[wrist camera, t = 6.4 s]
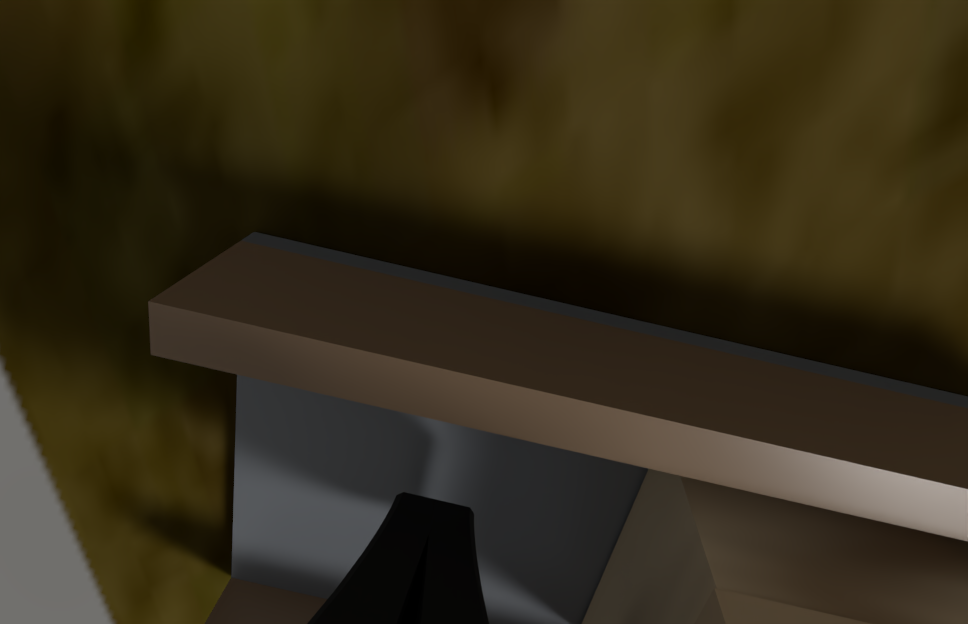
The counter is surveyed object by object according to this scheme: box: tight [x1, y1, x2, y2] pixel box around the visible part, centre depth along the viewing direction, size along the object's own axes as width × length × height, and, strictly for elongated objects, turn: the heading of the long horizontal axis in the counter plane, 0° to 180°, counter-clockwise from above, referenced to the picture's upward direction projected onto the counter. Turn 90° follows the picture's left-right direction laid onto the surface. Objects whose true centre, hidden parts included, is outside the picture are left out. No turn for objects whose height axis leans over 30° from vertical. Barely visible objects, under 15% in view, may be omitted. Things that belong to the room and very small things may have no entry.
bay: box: [148, 232, 968, 624], centre depth 11 cm, size 14×9×3 cm, turn 78°
